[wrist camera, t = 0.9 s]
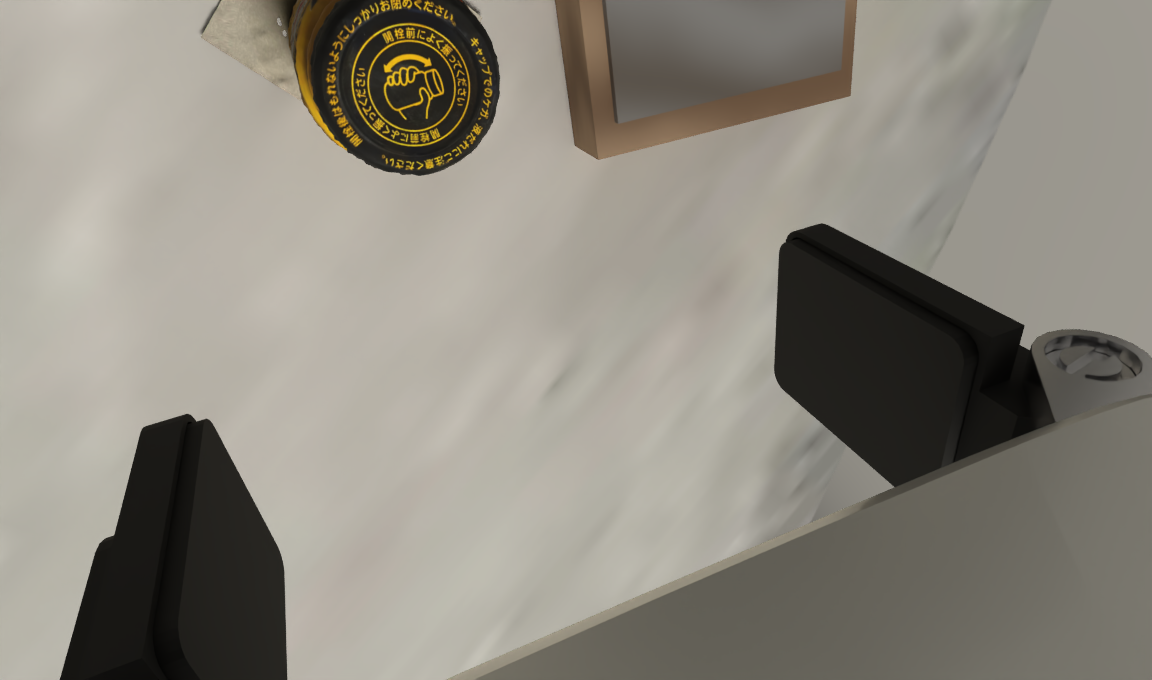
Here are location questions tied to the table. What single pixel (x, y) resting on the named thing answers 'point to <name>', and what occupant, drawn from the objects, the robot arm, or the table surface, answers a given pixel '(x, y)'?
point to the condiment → (374, 72)
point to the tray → (697, 65)
